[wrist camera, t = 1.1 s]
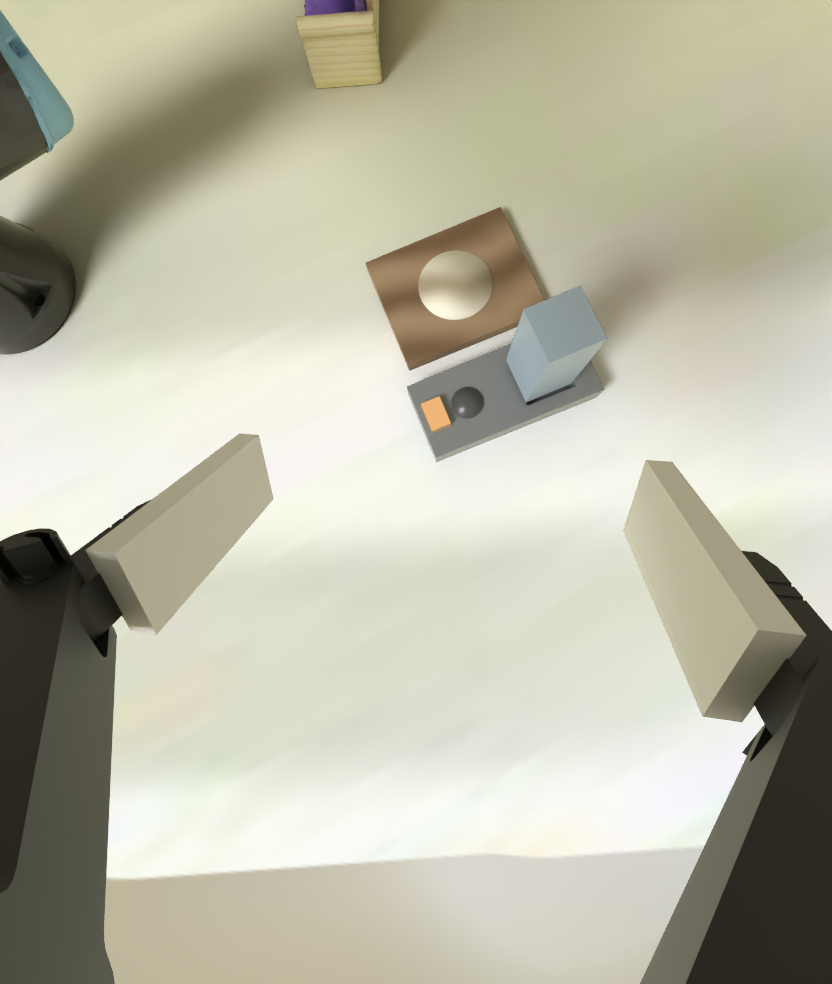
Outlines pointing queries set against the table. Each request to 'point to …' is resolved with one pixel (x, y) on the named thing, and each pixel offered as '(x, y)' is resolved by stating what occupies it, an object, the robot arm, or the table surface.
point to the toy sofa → (341, 42)
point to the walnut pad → (454, 288)
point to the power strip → (487, 403)
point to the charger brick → (554, 343)
